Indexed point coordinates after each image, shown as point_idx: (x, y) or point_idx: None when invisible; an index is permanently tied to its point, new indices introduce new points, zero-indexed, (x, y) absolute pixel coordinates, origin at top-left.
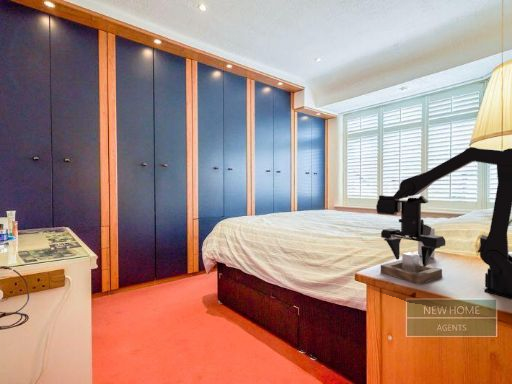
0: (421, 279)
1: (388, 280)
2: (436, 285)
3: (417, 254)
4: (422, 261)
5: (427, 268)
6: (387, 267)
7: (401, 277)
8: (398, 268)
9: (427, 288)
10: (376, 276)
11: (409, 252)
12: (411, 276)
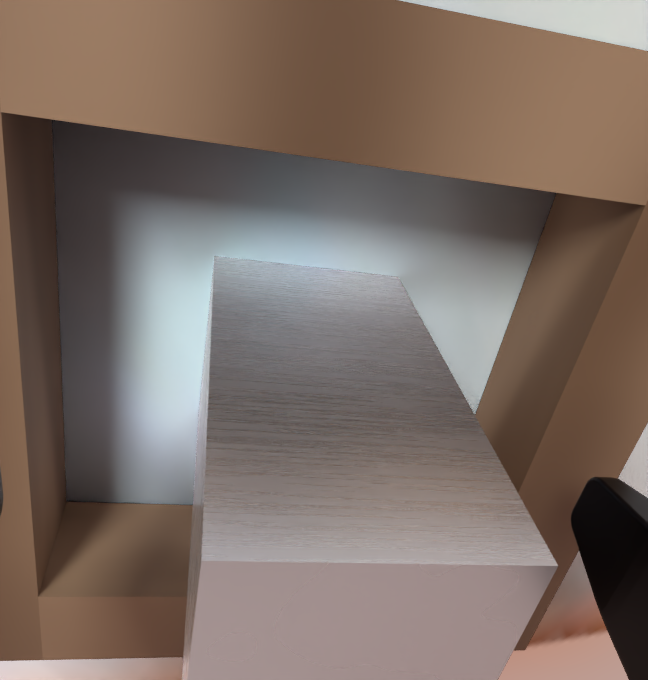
0: None
1: None
2: (642, 464)
3: (515, 604)
4: (613, 634)
5: (545, 184)
6: (73, 653)
7: None
8: None
9: (574, 582)
10: (68, 674)
11: (249, 591)
12: None
